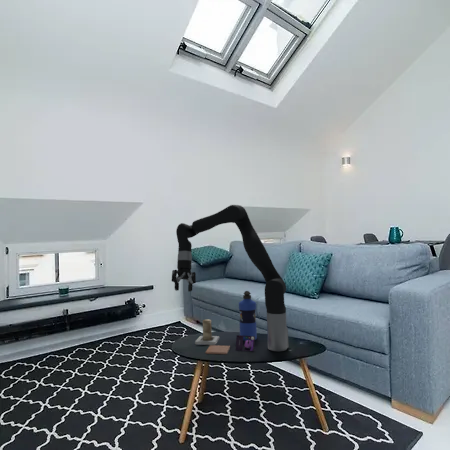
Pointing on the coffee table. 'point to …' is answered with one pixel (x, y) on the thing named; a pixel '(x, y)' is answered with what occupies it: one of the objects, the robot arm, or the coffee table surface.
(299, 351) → the coffee table surface
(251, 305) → the water bottle
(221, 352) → the terracotta tile
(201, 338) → the pocket block
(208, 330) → the birch peg
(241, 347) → the purple toy figure
